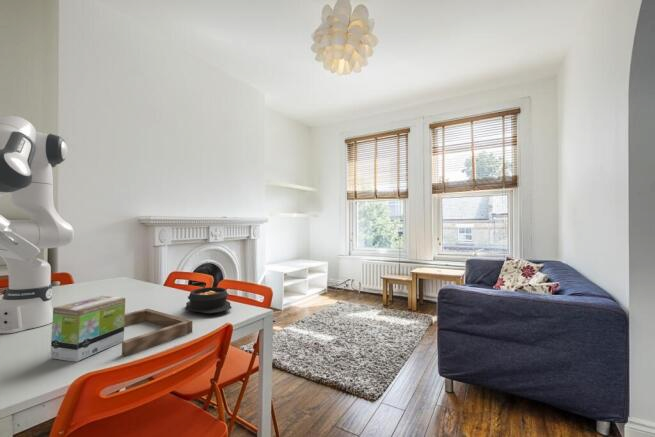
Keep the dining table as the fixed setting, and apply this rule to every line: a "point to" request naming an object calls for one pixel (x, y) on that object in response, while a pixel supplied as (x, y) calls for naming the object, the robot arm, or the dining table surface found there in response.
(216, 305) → the casserole
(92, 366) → the dining table surface
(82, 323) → the tea box
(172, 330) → the dock
